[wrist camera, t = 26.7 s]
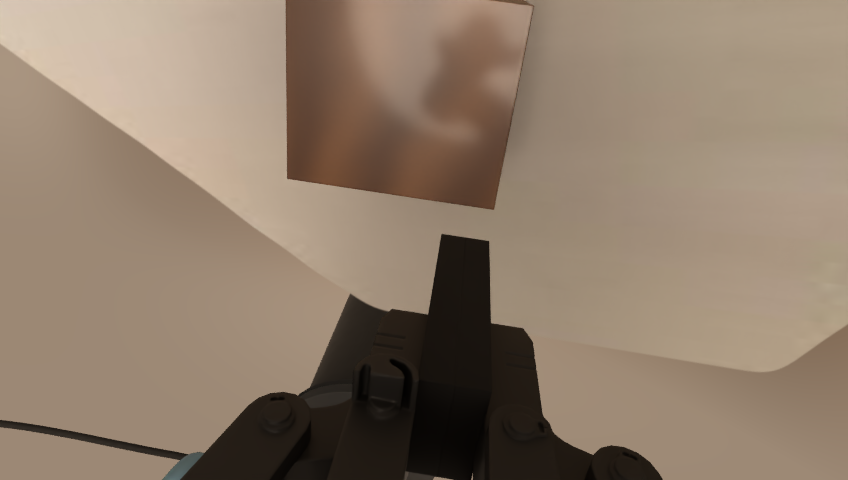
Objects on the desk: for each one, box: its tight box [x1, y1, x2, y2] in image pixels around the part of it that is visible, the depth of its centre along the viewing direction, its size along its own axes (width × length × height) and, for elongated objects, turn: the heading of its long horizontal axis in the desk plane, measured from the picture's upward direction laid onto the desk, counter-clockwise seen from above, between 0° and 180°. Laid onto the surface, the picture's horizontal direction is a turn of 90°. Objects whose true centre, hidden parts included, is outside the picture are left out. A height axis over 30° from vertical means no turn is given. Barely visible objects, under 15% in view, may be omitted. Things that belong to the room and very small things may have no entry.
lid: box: [286, 0, 534, 210], centre depth 37 cm, size 16×15×1 cm
